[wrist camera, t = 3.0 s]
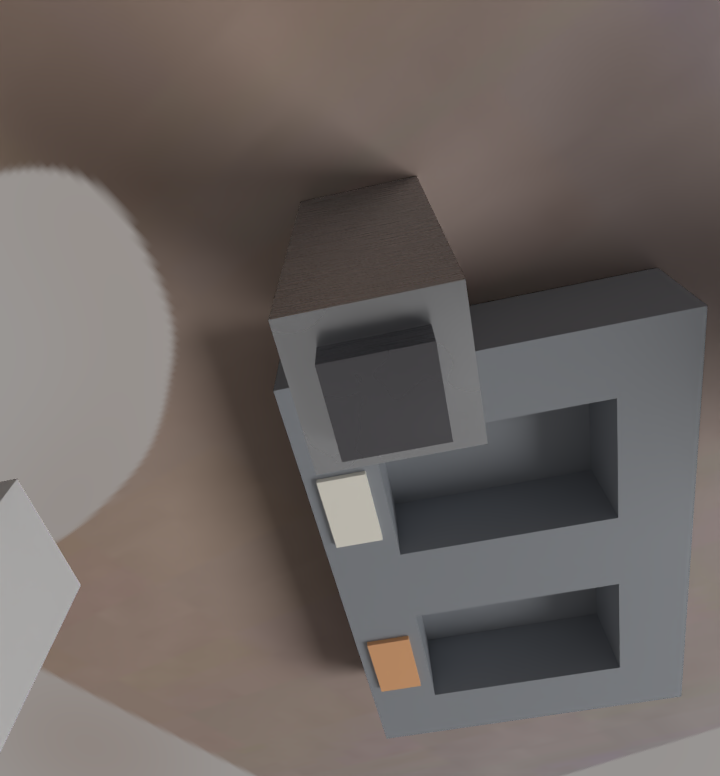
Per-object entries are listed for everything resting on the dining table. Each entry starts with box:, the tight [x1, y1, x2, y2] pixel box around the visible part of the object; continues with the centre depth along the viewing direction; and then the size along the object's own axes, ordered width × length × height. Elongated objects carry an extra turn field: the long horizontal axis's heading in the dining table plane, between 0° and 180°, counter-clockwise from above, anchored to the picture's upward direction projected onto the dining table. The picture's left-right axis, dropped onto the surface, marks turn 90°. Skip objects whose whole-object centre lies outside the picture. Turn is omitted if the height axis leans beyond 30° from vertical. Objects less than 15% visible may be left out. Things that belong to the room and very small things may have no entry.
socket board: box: [273, 268, 707, 738], centre depth 27 cm, size 20×14×4 cm
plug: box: [268, 176, 488, 475], centre depth 17 cm, size 4×4×11 cm
